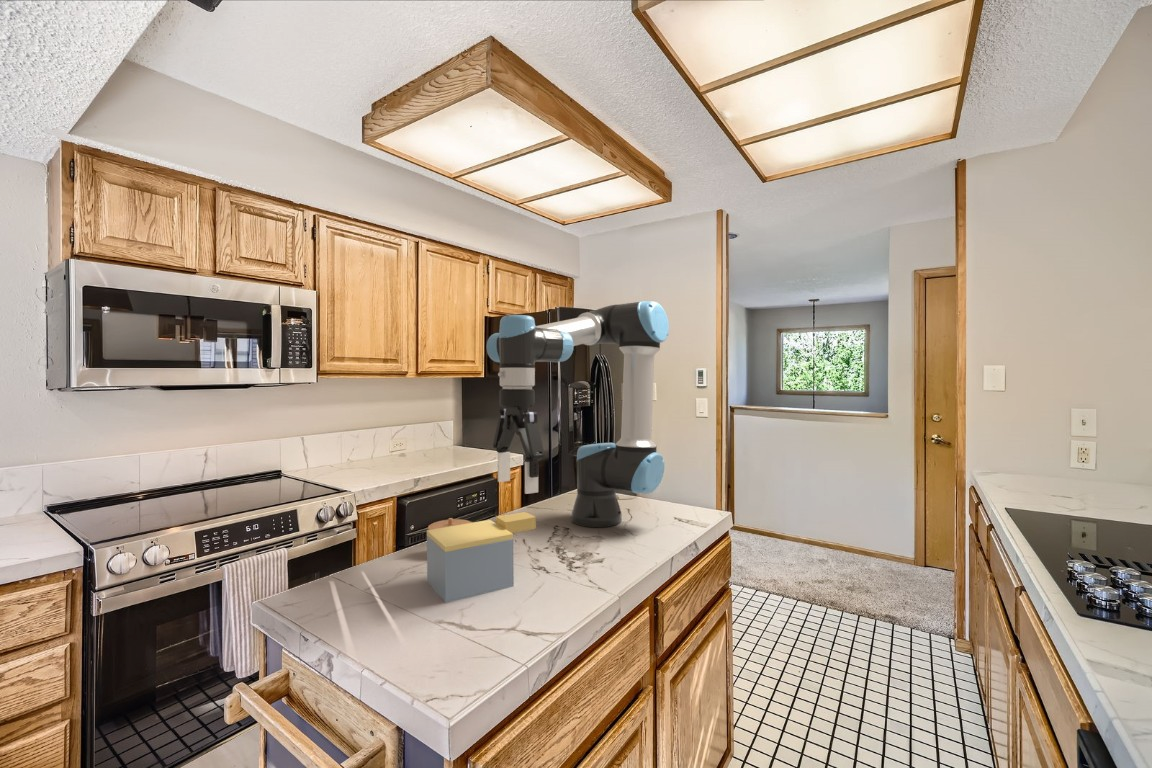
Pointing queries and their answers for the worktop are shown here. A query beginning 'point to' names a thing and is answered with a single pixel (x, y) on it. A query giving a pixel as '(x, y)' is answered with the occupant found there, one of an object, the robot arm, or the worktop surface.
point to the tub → (470, 569)
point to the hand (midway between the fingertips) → (517, 486)
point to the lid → (481, 531)
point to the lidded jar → (447, 523)
